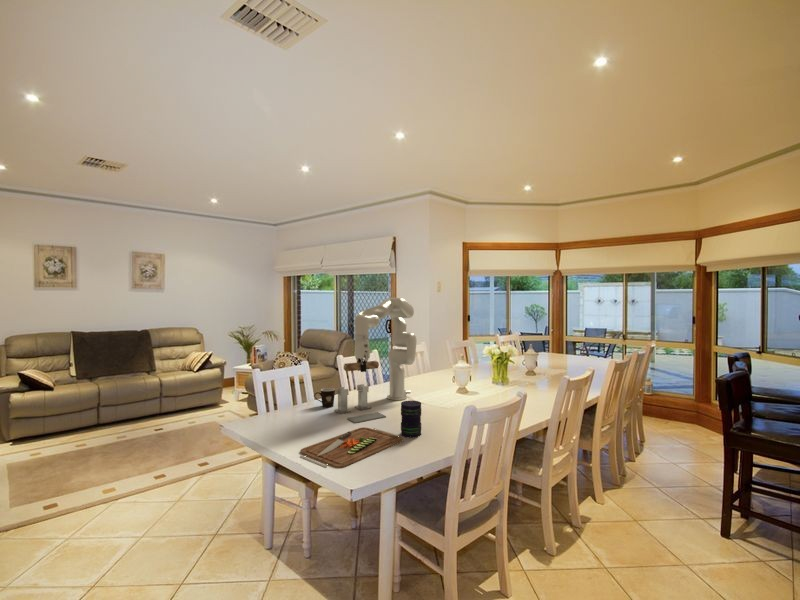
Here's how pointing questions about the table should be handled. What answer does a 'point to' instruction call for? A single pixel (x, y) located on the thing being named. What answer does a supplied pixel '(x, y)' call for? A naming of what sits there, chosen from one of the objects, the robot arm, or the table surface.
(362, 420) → the mat
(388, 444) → the chopping board
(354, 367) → the bread baguette
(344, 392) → the post near
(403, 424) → the storage jar
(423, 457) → the table surface
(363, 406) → the post far
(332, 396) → the coffee mug
